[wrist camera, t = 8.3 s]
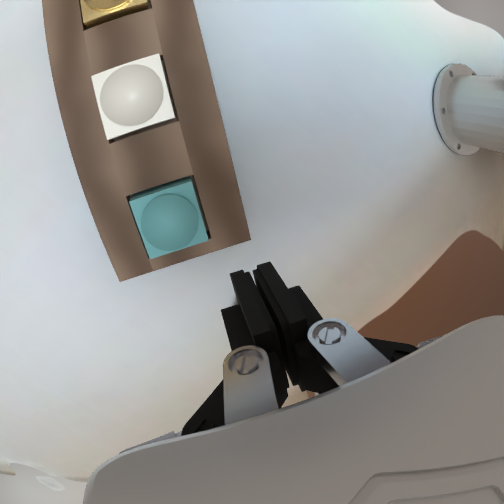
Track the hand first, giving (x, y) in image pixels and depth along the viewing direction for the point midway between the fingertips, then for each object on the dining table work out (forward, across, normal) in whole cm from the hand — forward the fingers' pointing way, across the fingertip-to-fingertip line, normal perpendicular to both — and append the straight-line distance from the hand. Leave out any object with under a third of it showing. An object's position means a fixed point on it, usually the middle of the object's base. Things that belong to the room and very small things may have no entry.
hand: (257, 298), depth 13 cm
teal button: (+16, +4, 0) cm, 16 cm away
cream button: (+15, +4, -10) cm, 18 cm away
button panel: (+17, +4, -10) cm, 20 cm away
